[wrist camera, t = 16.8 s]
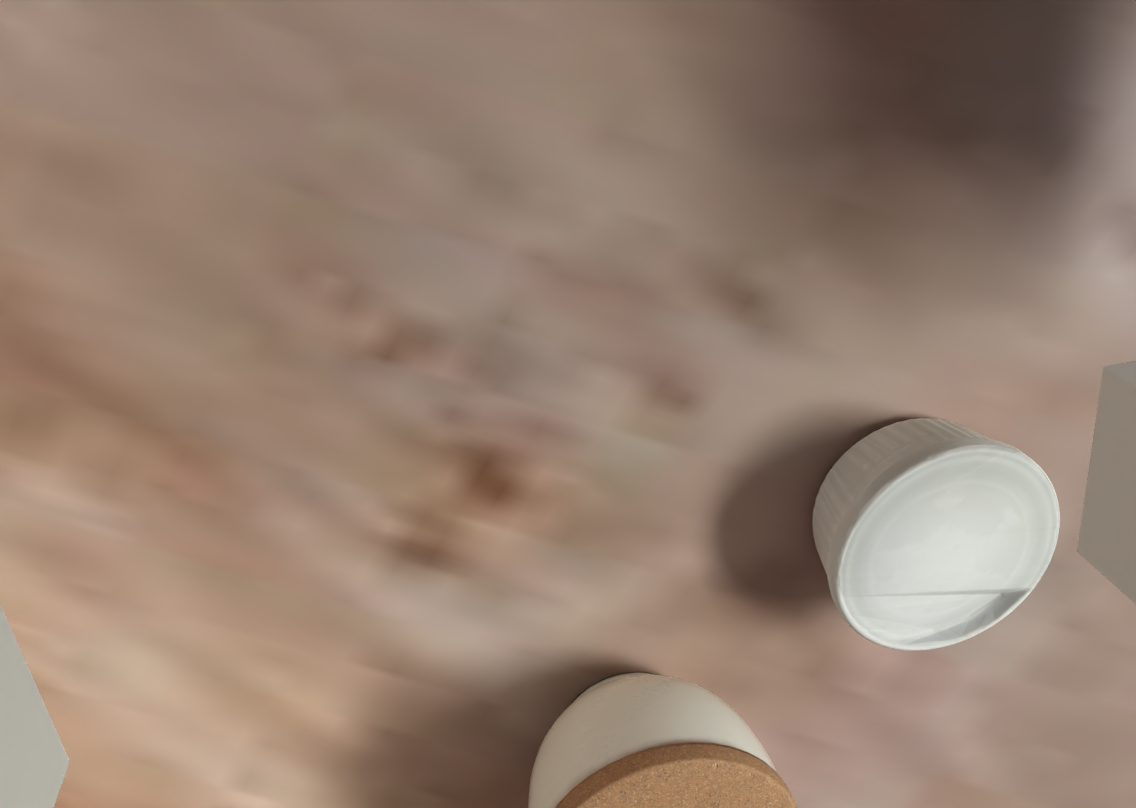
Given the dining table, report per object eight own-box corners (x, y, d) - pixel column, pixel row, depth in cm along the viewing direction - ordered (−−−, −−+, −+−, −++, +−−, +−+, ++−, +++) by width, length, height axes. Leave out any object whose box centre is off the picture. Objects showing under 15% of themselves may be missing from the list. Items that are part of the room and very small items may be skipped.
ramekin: (833, 623, 55) (878, 690, 50) (758, 468, 49) (800, 527, 45) (1022, 524, 54) (1085, 582, 49) (966, 357, 49) (1031, 404, 44)
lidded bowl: (464, 706, 52) (490, 889, 42) (682, 589, 52) (758, 747, 42) (575, 846, 58) (620, 1035, 48) (772, 742, 57) (858, 913, 48)
